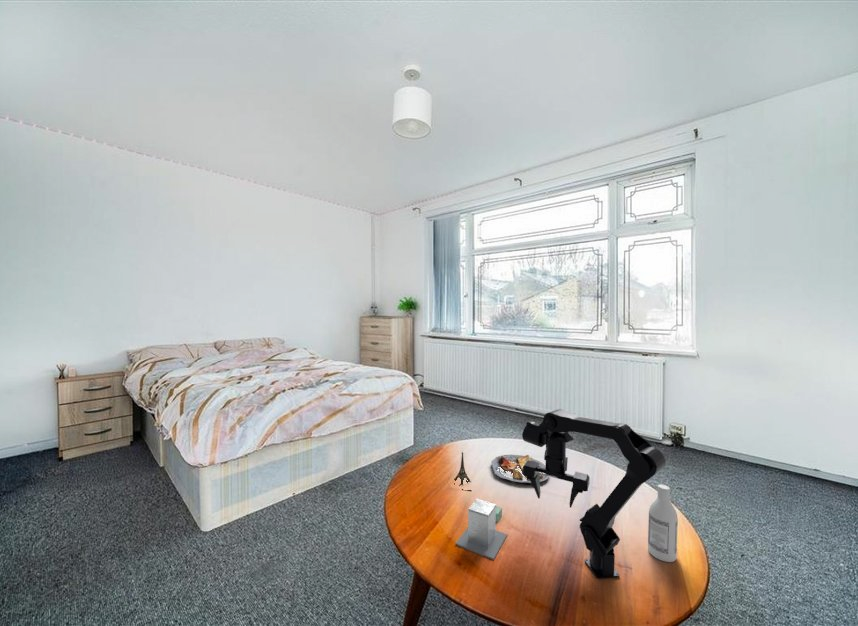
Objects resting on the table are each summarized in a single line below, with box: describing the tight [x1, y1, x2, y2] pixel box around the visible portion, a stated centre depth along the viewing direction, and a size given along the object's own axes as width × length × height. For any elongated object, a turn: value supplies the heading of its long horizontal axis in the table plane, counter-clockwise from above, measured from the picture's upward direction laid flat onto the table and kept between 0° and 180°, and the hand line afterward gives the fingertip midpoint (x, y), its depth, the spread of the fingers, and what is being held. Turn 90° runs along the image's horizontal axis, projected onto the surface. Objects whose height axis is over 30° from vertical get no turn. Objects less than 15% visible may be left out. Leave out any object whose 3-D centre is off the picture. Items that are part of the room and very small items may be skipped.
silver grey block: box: [467, 498, 497, 549], centre depth 106 cm, size 6×6×10 cm
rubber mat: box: [455, 526, 508, 561], centre depth 106 cm, size 12×12×1 cm
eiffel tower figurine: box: [454, 450, 472, 486], centre depth 142 cm, size 15×10×13 cm
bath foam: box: [647, 483, 679, 563], centre depth 101 cm, size 7×7×20 cm
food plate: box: [490, 454, 550, 484], centre depth 151 cm, size 25×23×4 cm
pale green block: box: [496, 505, 503, 523], centre depth 118 cm, size 4×4×3 cm
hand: (554, 502), depth 106 cm, fingers open, 9 cm apart
